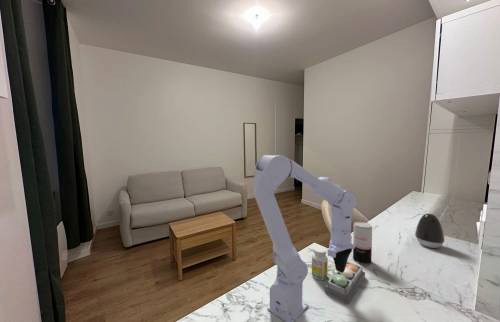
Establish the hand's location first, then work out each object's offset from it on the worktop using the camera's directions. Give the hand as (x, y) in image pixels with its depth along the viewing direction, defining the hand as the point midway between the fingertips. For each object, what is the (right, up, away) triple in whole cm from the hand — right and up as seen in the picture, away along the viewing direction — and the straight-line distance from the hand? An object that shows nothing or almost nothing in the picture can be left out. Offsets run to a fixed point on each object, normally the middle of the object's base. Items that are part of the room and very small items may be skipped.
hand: (340, 270), depth 62 cm
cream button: (+4, -4, +4) cm, 7 cm away
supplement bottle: (-3, -7, +9) cm, 12 cm away
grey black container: (+17, -7, +19) cm, 27 cm away
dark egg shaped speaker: (+56, -6, +31) cm, 65 cm away
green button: (0, -4, 0) cm, 4 cm away
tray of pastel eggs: (+4, -7, +4) cm, 9 cm away
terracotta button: (+8, -5, +8) cm, 12 cm away
